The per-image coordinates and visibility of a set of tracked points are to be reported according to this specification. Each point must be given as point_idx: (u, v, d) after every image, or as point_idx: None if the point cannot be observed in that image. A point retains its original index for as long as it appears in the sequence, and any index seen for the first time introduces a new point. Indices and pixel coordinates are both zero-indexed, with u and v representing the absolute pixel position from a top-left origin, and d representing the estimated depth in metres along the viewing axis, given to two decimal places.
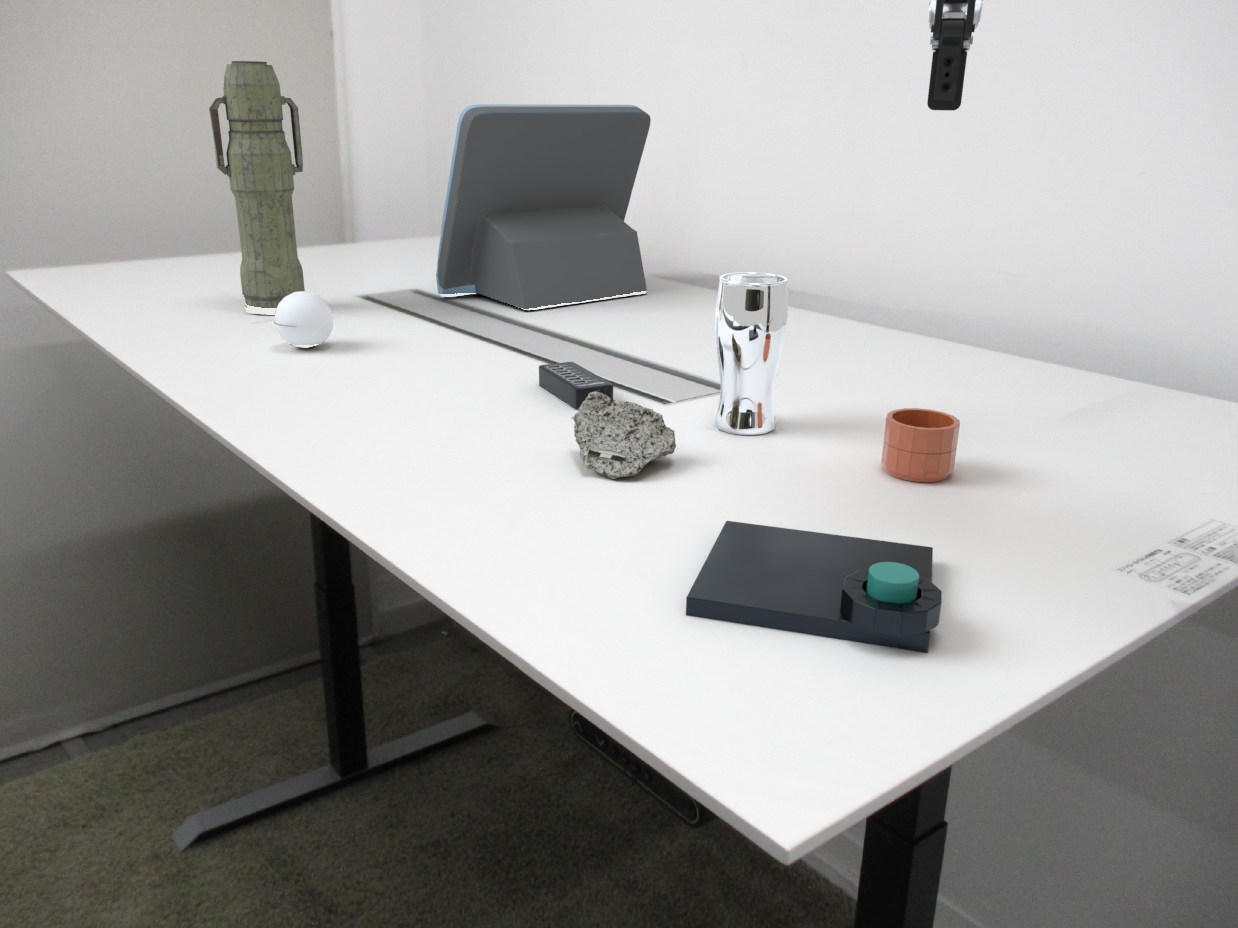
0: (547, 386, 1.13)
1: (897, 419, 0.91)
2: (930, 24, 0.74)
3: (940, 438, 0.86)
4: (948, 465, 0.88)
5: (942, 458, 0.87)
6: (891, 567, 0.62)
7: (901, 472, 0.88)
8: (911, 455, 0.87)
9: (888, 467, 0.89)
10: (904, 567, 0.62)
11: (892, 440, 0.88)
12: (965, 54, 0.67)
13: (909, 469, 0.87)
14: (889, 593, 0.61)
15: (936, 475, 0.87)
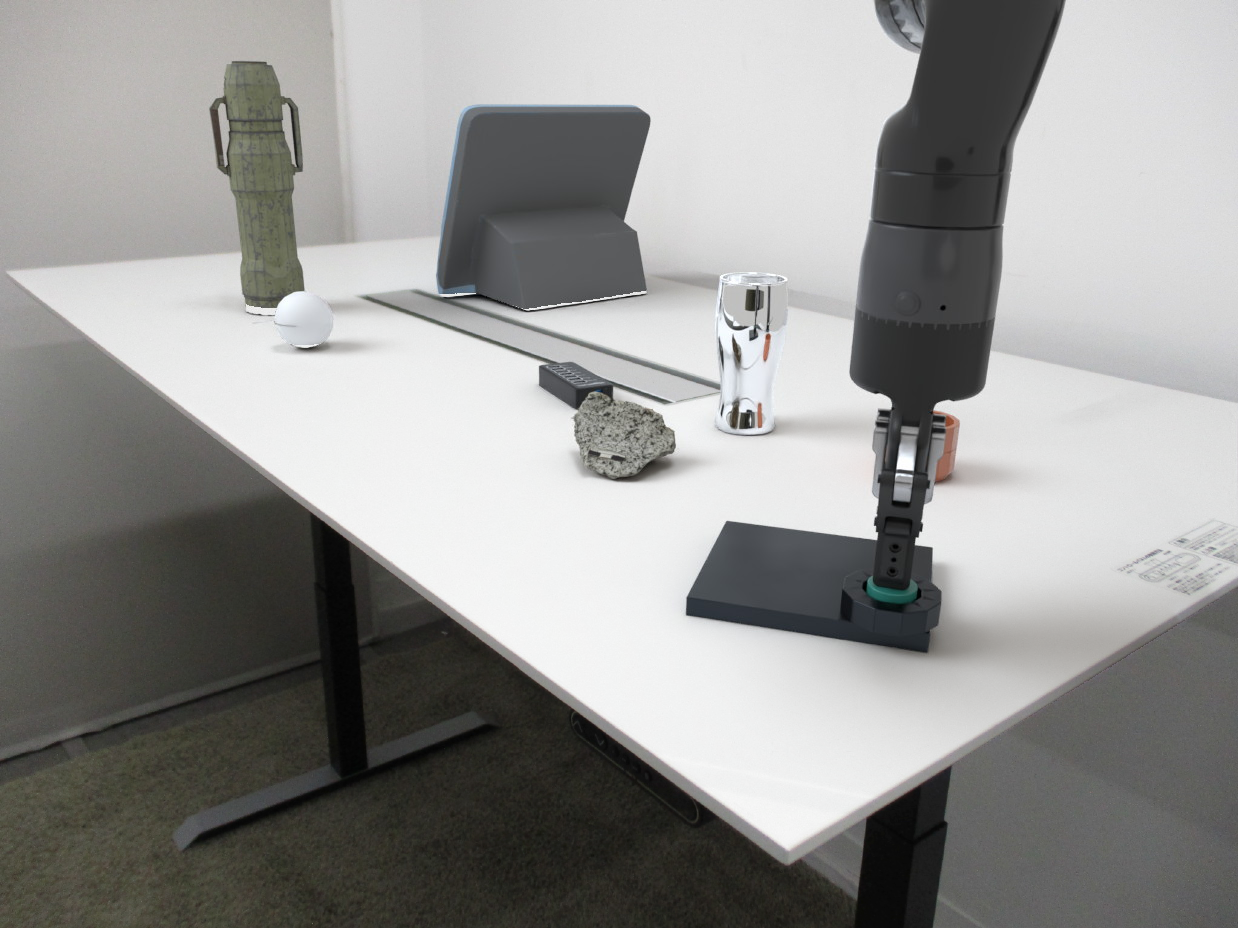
0: (547, 386, 1.13)
1: None
2: None
3: None
4: (948, 465, 0.88)
5: (942, 458, 0.87)
6: None
7: None
8: None
9: None
10: None
11: None
12: (914, 537, 0.60)
13: None
14: None
15: (936, 475, 0.87)
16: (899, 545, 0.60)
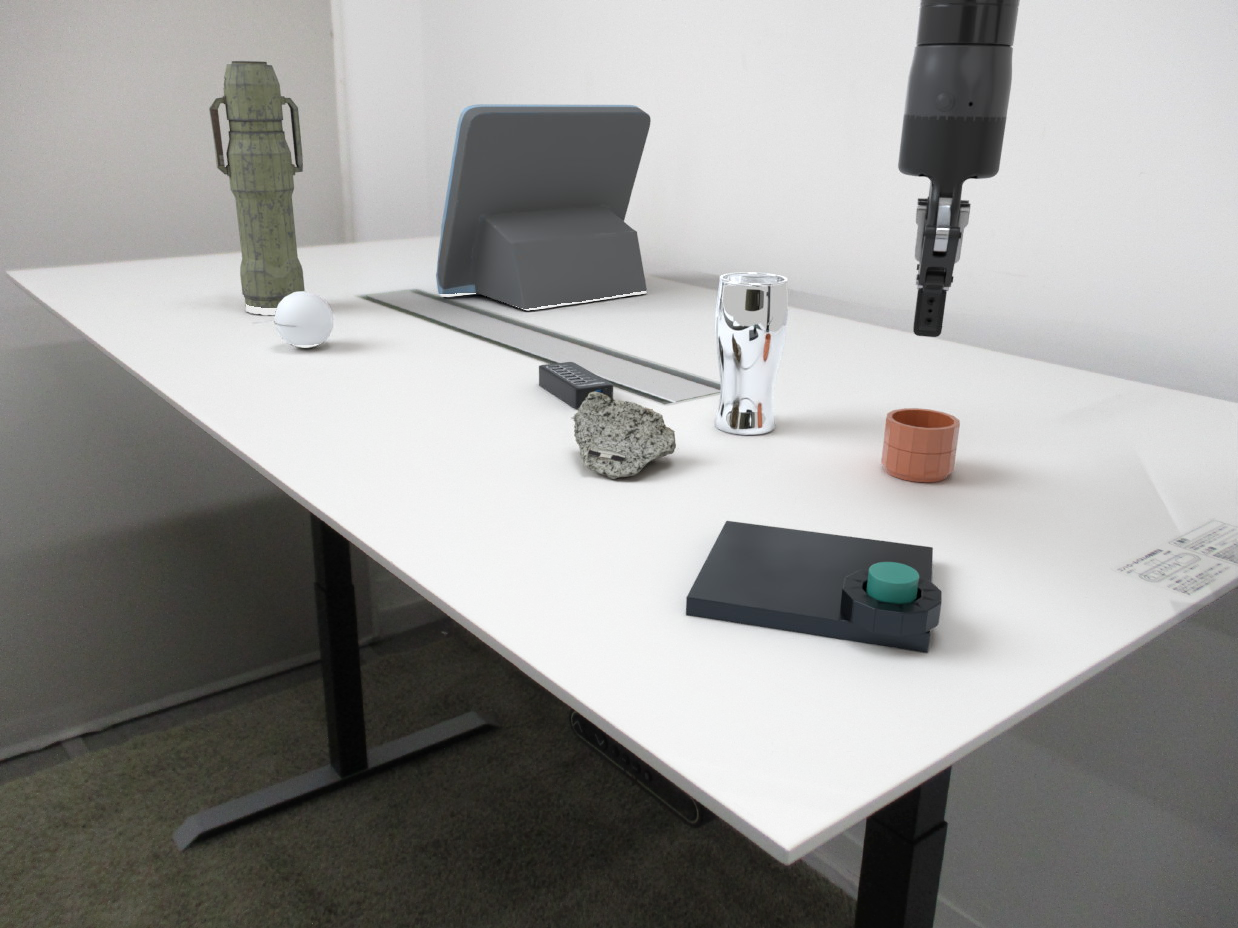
0: (547, 386, 1.13)
1: (897, 419, 0.91)
2: None
3: (940, 438, 0.86)
4: (948, 465, 0.88)
5: (942, 458, 0.87)
6: (891, 567, 0.62)
7: (901, 472, 0.88)
8: (911, 455, 0.87)
9: (888, 467, 0.89)
10: (904, 567, 0.62)
11: (892, 440, 0.88)
12: (945, 294, 0.81)
13: (909, 469, 0.87)
14: (889, 593, 0.61)
15: (936, 475, 0.87)
16: (934, 299, 0.80)
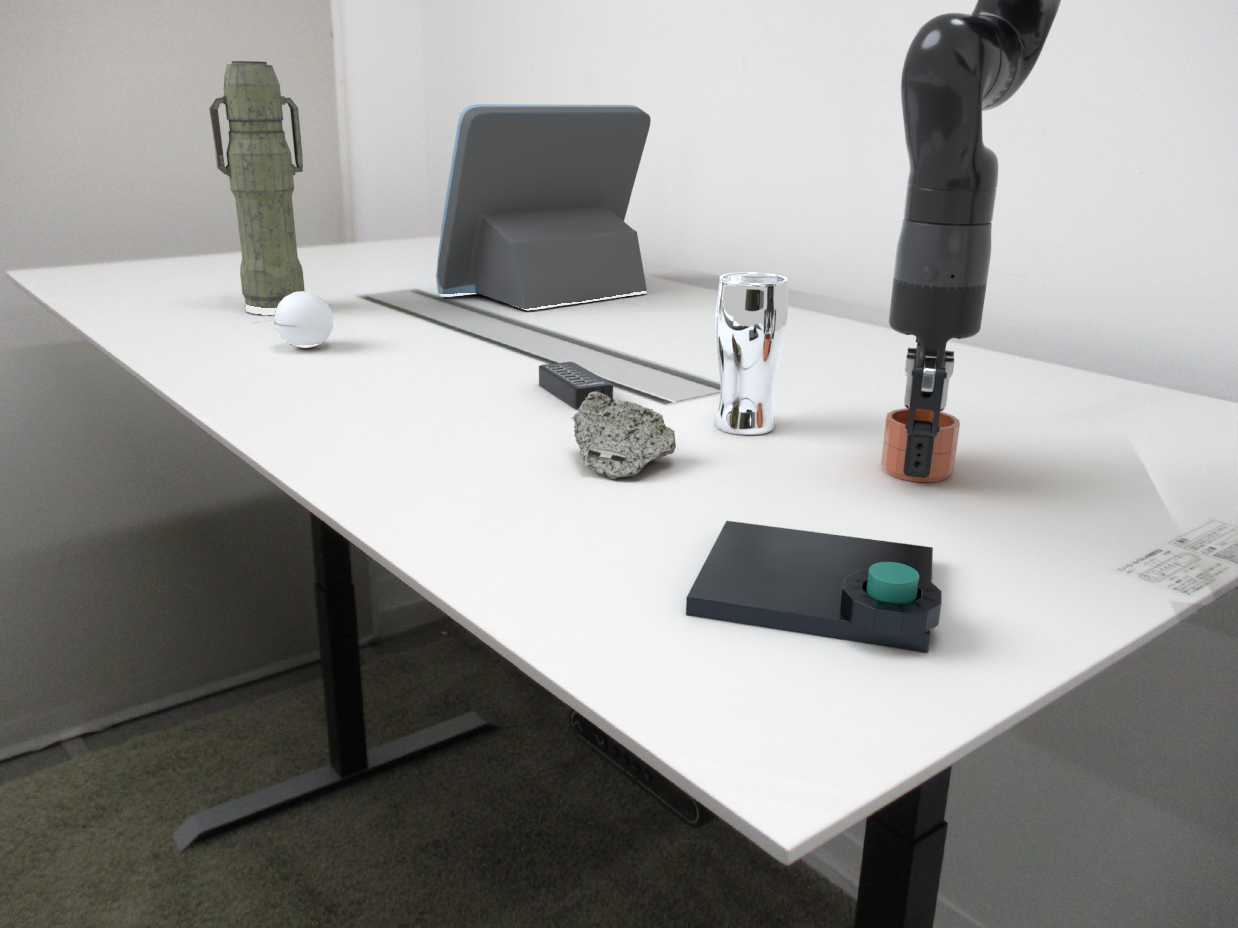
0: (547, 386, 1.13)
1: (897, 419, 0.91)
2: None
3: (940, 438, 0.86)
4: (948, 465, 0.88)
5: (942, 458, 0.87)
6: (891, 567, 0.62)
7: (901, 472, 0.88)
8: None
9: (888, 467, 0.89)
10: (904, 567, 0.62)
11: (892, 440, 0.88)
12: (933, 439, 0.85)
13: None
14: (889, 593, 0.61)
15: (936, 475, 0.87)
16: (922, 444, 0.85)
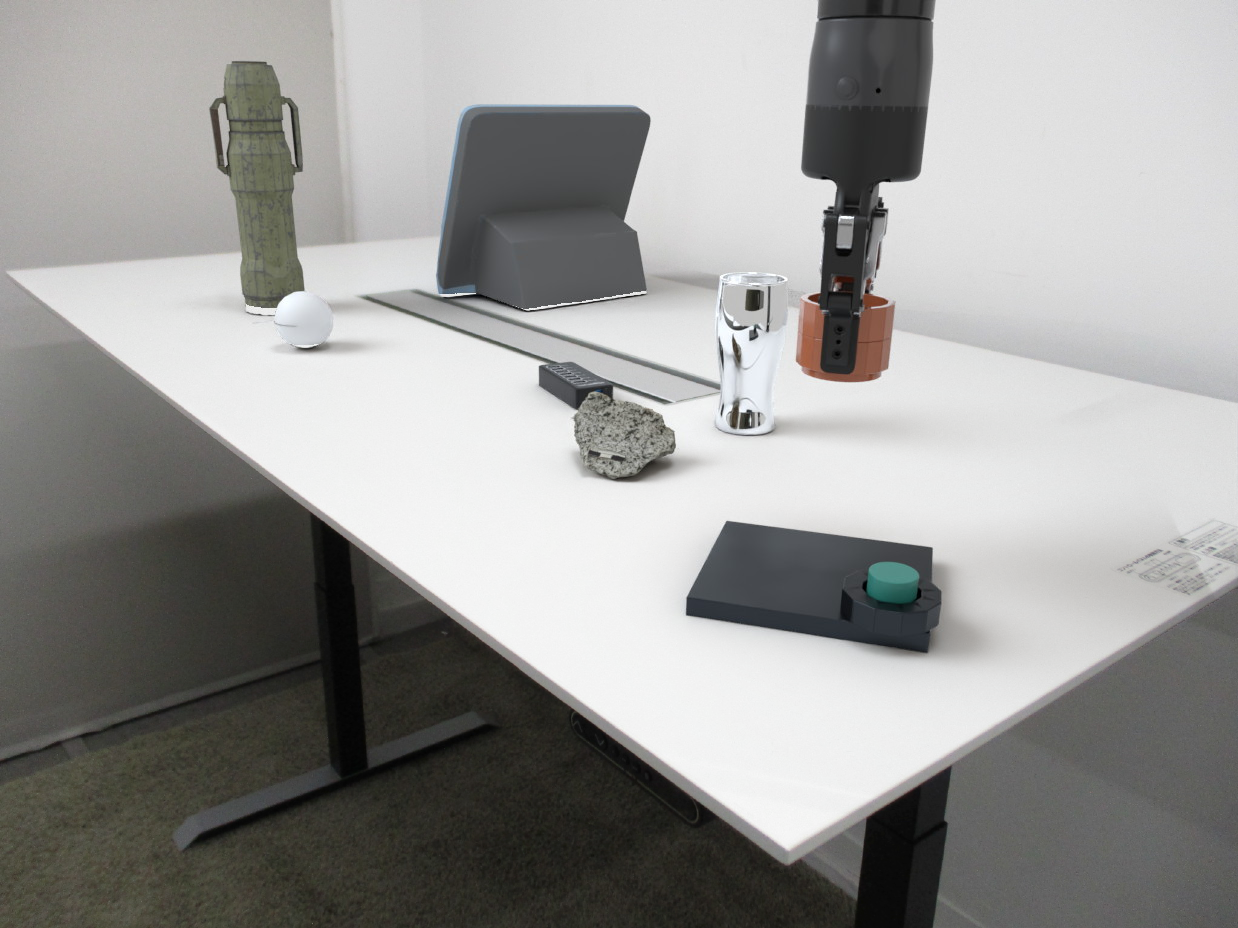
0: (547, 386, 1.13)
1: None
2: None
3: (867, 321, 0.65)
4: (880, 360, 0.66)
5: (871, 348, 0.66)
6: (891, 567, 0.62)
7: (818, 369, 0.67)
8: None
9: (802, 364, 0.68)
10: (904, 567, 0.62)
11: (806, 327, 0.67)
12: (857, 320, 0.64)
13: None
14: (889, 593, 0.61)
15: (863, 372, 0.66)
16: (843, 327, 0.64)
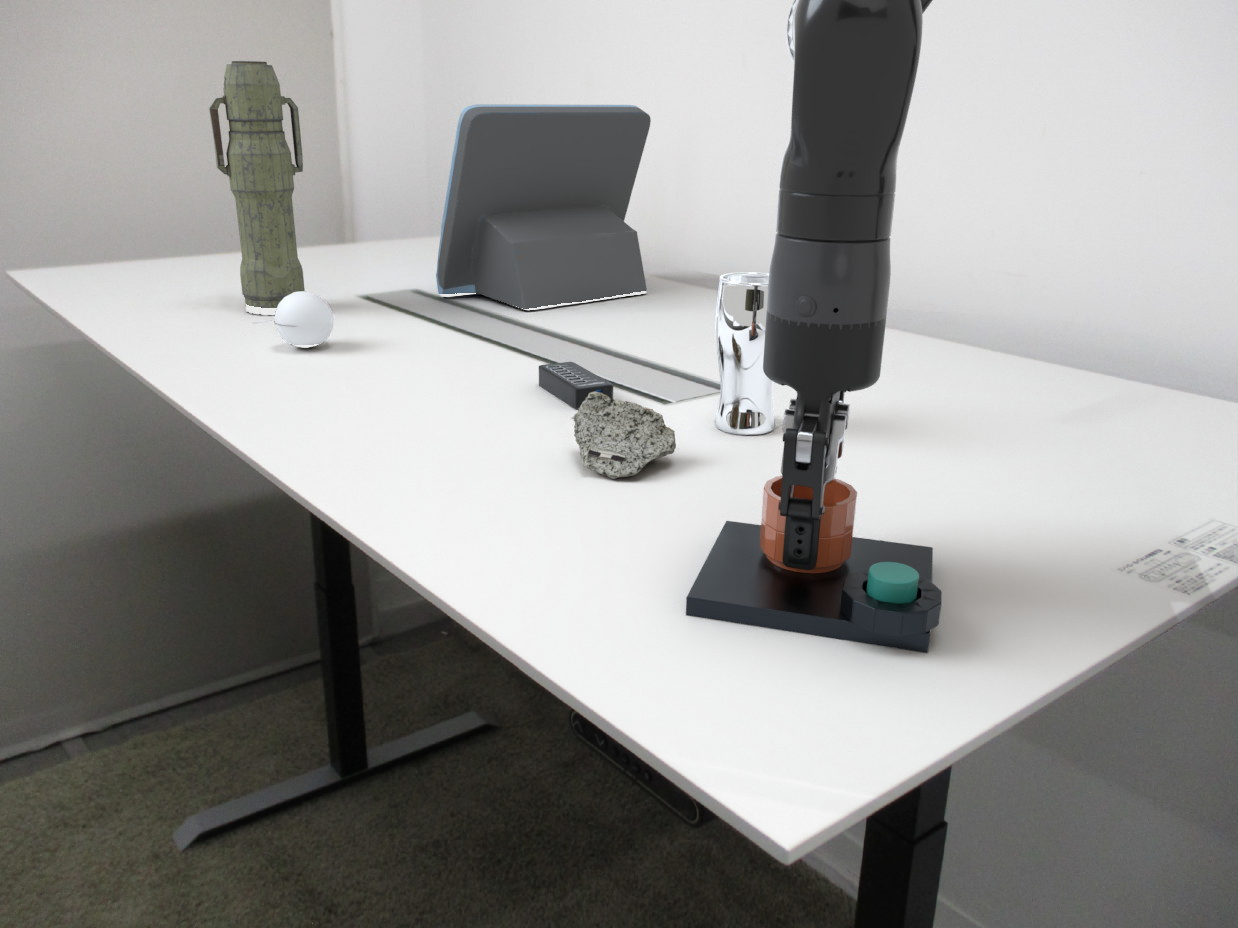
0: (547, 386, 1.13)
1: None
2: None
3: (828, 518, 0.66)
4: (841, 552, 0.67)
5: (833, 543, 0.67)
6: (891, 567, 0.62)
7: (781, 560, 0.68)
8: None
9: (766, 552, 0.69)
10: (904, 567, 0.62)
11: (769, 518, 0.68)
12: (818, 521, 0.65)
13: None
14: (889, 593, 0.61)
15: (825, 565, 0.67)
16: (804, 528, 0.65)
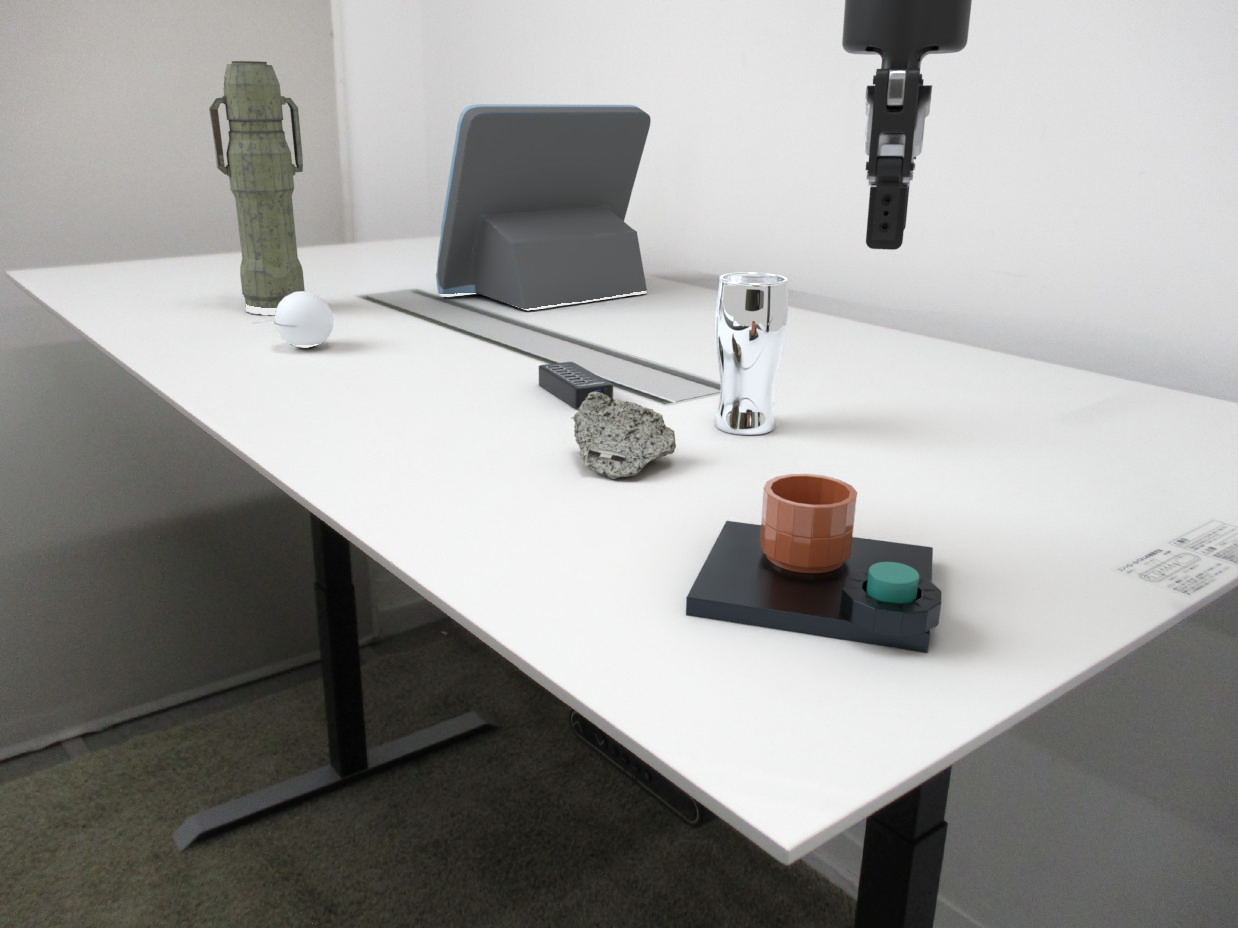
0: (547, 386, 1.13)
1: (781, 488, 0.71)
2: None
3: (829, 518, 0.66)
4: (841, 552, 0.67)
5: (833, 543, 0.67)
6: (891, 567, 0.62)
7: (781, 560, 0.68)
8: (792, 539, 0.67)
9: (766, 552, 0.69)
10: (904, 567, 0.62)
11: (769, 518, 0.68)
12: (905, 190, 0.61)
13: (790, 557, 0.67)
14: (889, 593, 0.61)
15: (825, 565, 0.67)
16: (891, 197, 0.61)
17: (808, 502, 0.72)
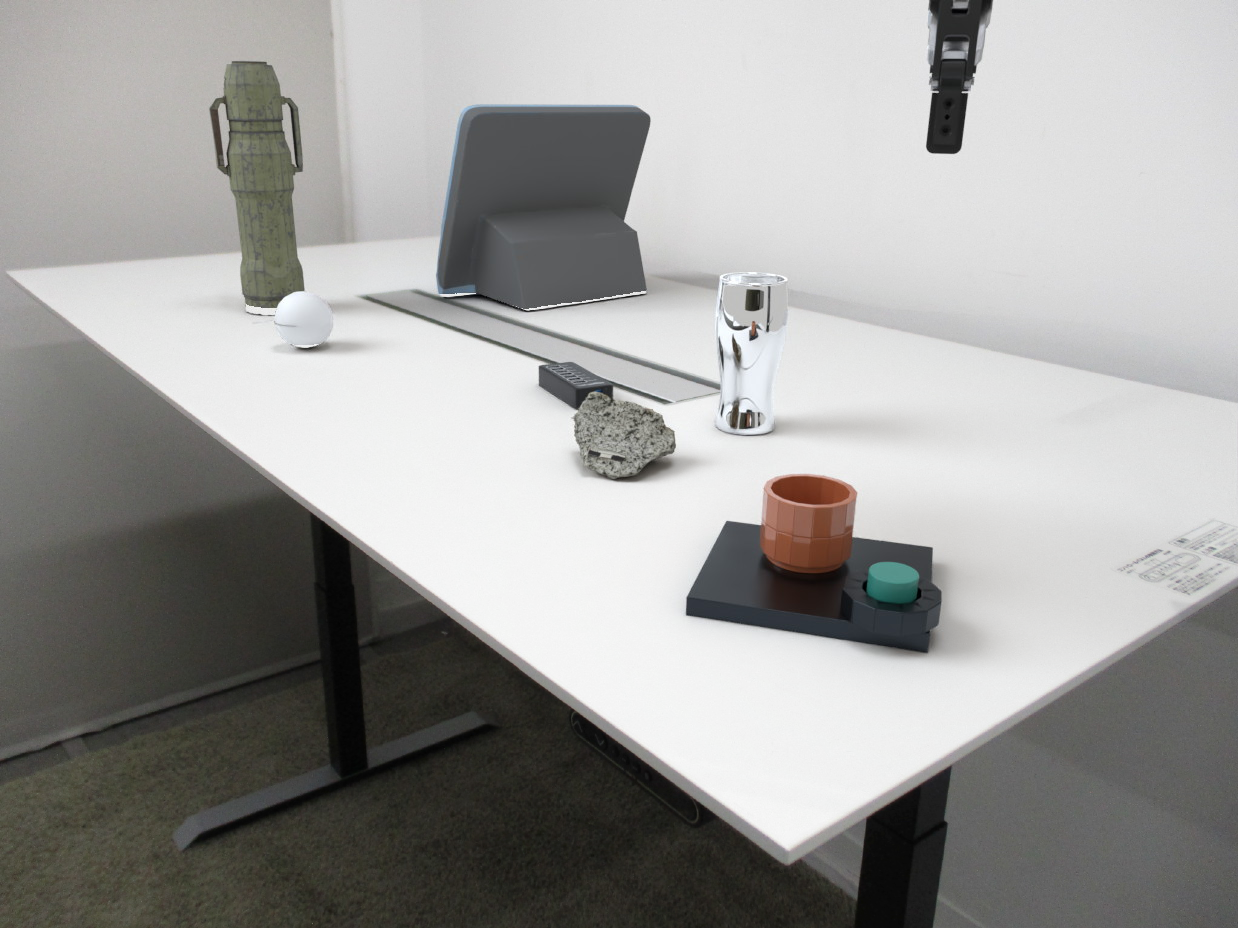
0: (547, 386, 1.13)
1: (781, 488, 0.71)
2: None
3: (829, 518, 0.66)
4: (841, 552, 0.67)
5: (833, 543, 0.67)
6: (891, 567, 0.62)
7: (781, 560, 0.68)
8: (792, 539, 0.67)
9: (766, 552, 0.69)
10: (904, 567, 0.62)
11: (769, 518, 0.68)
12: (966, 95, 0.64)
13: (790, 557, 0.67)
14: (889, 593, 0.61)
15: (825, 565, 0.67)
16: (952, 101, 0.63)
17: (808, 502, 0.72)
